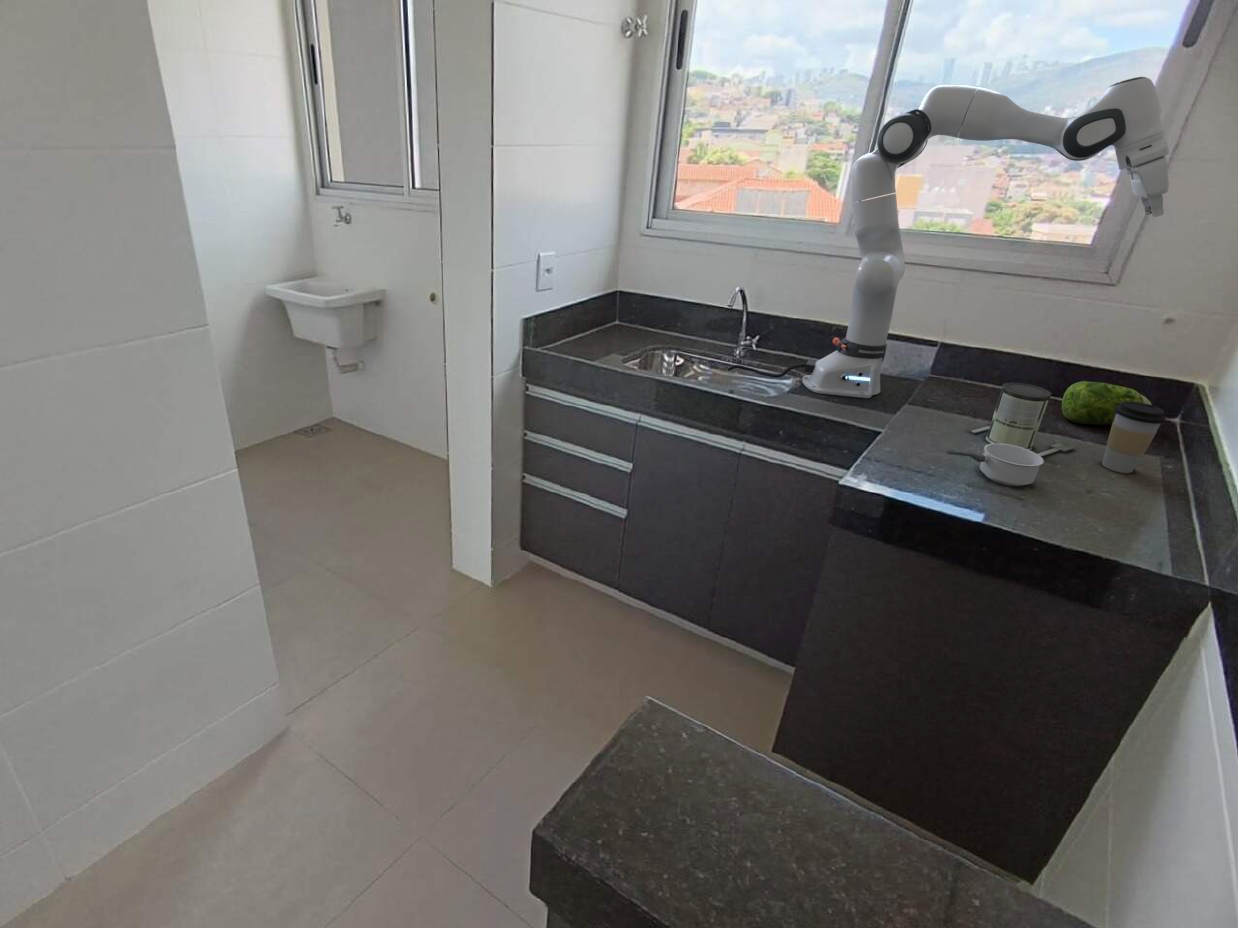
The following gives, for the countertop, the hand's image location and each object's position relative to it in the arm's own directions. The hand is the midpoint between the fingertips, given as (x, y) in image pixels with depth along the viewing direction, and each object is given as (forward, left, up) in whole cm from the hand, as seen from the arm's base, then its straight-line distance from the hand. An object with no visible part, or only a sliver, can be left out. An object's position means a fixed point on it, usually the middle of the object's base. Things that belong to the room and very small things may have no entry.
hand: (1154, 214), depth 149 cm
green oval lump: (+12, +6, -54) cm, 55 cm away
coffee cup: (-4, -22, -54) cm, 58 cm away
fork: (-23, -1, -53) cm, 58 cm away
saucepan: (-39, -29, -54) cm, 72 cm away
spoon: (-15, -15, -53) cm, 57 cm away
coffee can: (-23, -10, -54) cm, 59 cm away
